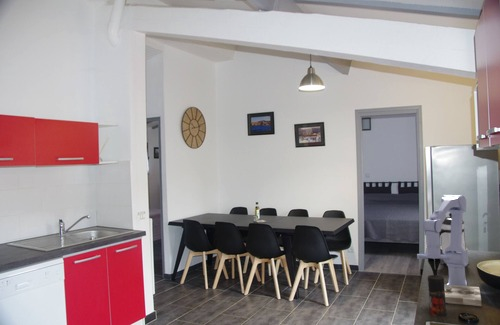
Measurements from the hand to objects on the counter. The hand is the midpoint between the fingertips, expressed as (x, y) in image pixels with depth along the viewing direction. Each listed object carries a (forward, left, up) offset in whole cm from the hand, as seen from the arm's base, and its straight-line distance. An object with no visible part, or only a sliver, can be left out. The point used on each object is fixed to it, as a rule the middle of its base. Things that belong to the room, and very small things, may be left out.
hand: (435, 274), depth 183 cm
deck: (0, +9, -9) cm, 13 cm away
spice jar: (+23, +2, -10) cm, 25 cm away
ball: (0, +5, -5) cm, 7 cm away
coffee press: (-57, +7, -10) cm, 58 cm away
